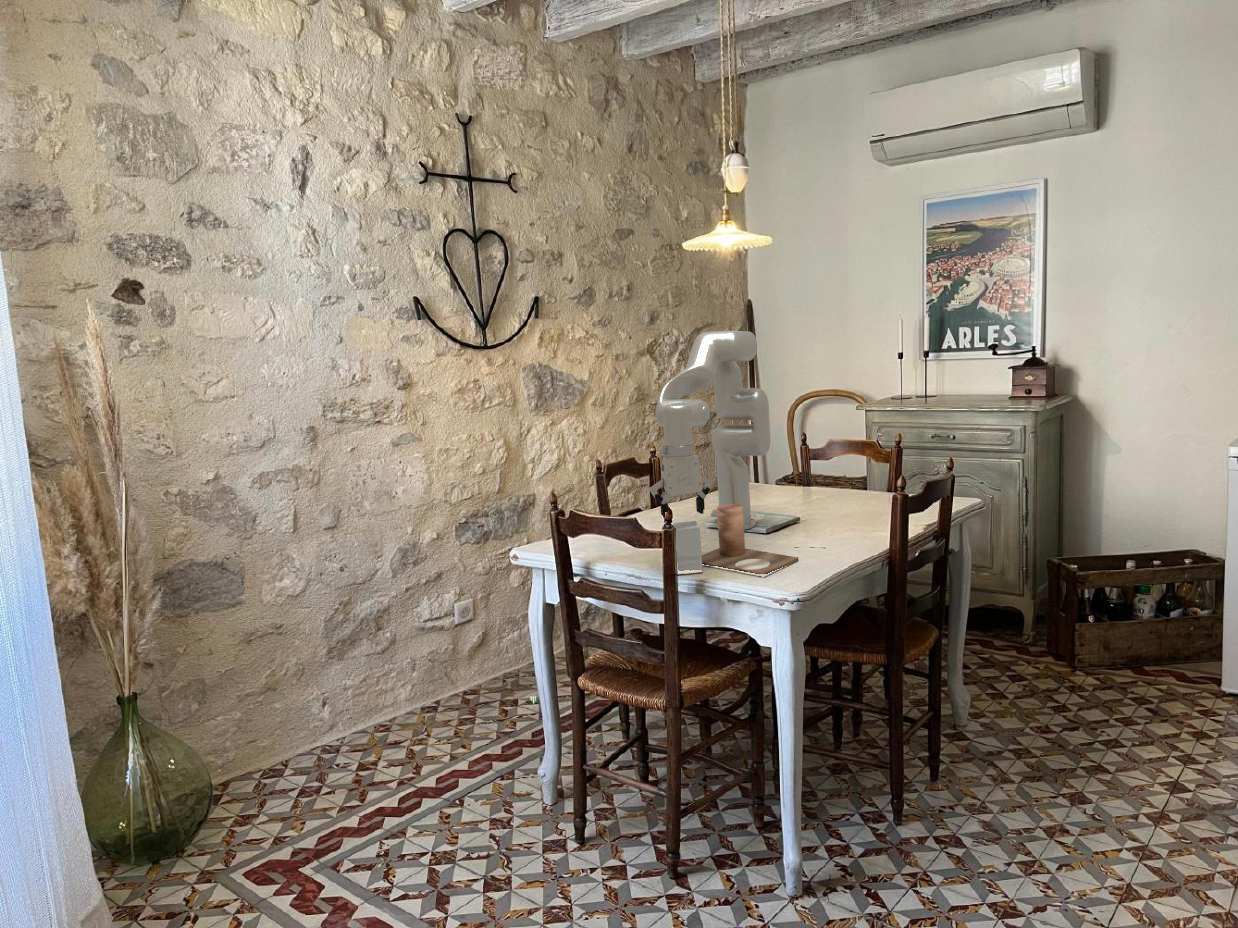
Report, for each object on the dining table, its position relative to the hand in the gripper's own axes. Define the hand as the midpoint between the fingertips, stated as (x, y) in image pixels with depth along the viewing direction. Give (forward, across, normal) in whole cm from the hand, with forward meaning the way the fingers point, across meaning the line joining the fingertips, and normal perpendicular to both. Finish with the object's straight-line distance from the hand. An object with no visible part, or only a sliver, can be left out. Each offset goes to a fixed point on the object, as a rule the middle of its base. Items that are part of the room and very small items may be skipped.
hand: (683, 515), depth 247 cm
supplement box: (+16, +1, +1) cm, 16 cm away
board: (+15, +16, -1) cm, 22 cm away
